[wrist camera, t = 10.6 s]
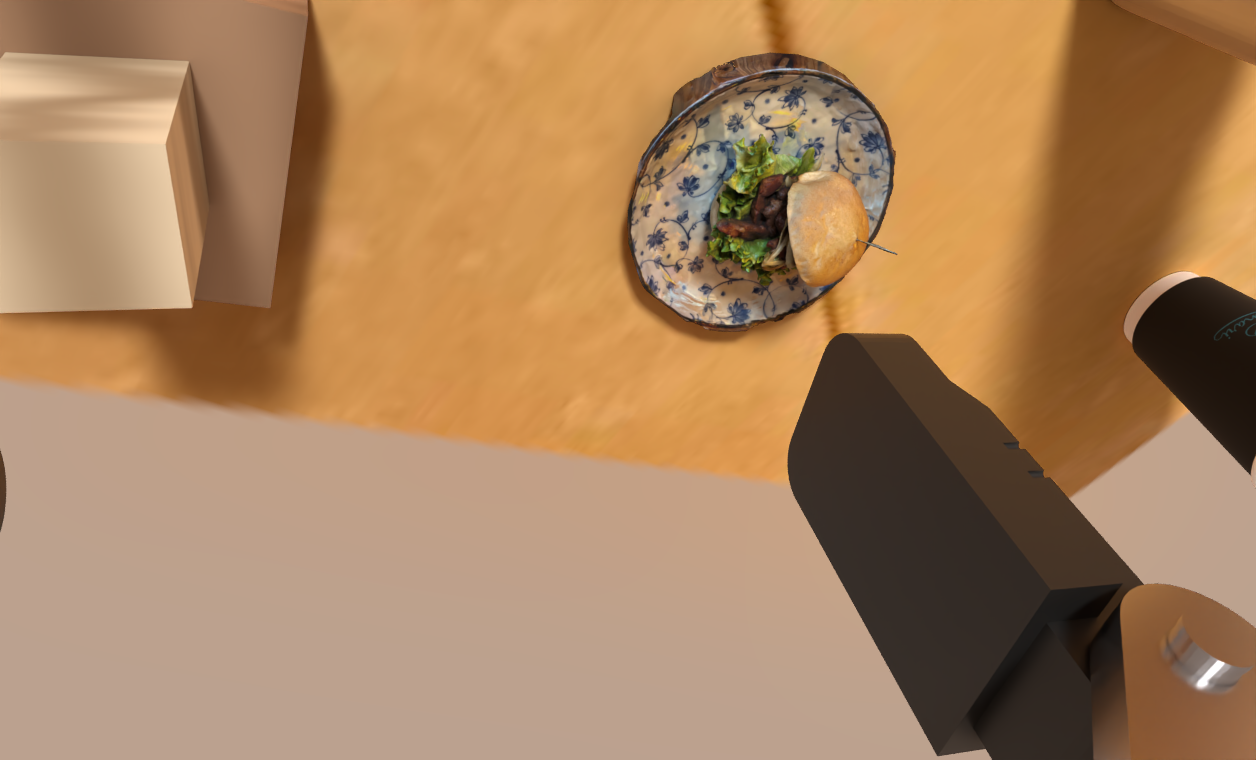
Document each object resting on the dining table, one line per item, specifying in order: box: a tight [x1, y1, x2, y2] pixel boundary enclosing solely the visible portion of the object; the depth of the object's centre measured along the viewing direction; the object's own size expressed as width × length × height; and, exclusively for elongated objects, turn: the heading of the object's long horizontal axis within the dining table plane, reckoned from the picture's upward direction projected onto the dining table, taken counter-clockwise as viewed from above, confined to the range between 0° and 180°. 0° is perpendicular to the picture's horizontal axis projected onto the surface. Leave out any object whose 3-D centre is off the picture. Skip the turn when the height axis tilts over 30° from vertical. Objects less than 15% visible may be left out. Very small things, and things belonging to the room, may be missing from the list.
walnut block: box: [0, 0, 308, 308], centre depth 28 cm, size 10×10×4 cm
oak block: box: [0, 52, 210, 313], centre depth 24 cm, size 4×4×6 cm
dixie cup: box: [1124, 271, 1256, 488], centre depth 46 cm, size 8×8×11 cm
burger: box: [628, 53, 898, 332], centre depth 35 cm, size 12×12×8 cm
